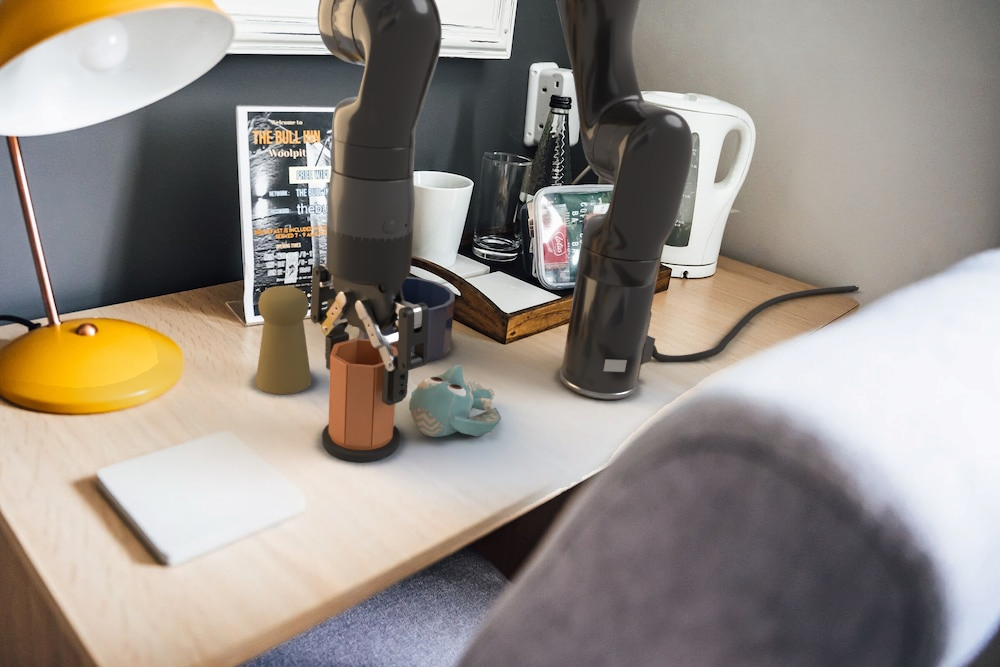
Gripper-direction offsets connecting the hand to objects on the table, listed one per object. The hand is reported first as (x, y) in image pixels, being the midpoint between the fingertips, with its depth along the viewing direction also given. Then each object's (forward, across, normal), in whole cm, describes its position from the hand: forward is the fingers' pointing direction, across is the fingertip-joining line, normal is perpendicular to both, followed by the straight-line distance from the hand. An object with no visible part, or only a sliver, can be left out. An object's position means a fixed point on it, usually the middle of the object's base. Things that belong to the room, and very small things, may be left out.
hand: (364, 384), depth 74 cm
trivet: (+6, 0, 0) cm, 6 cm away
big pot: (+6, +15, -19) cm, 25 cm away
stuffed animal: (+7, -3, -10) cm, 12 cm away
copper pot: (+6, 0, 0) cm, 6 cm away
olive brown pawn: (+6, +15, -1) cm, 16 cm away
